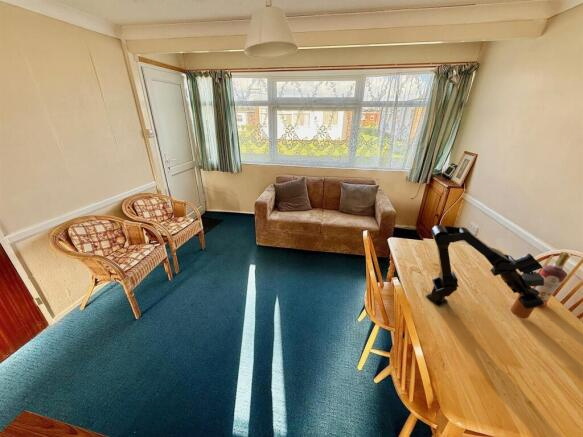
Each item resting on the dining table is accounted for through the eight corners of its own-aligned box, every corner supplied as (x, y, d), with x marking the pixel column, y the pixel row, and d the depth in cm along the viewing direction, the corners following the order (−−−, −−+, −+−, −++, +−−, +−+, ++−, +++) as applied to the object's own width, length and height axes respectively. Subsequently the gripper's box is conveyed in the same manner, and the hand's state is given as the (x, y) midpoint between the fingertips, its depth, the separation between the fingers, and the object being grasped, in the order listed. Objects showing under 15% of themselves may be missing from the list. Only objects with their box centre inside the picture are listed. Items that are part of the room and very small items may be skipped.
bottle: (524, 320, 98) (538, 298, 92) (507, 310, 103) (520, 288, 97) (531, 315, 100) (545, 294, 95) (514, 305, 105) (527, 284, 99)
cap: (534, 299, 94) (536, 295, 93) (522, 293, 98) (525, 289, 97) (538, 296, 96) (541, 292, 95) (527, 290, 99) (529, 286, 98)
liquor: (545, 302, 109) (577, 253, 96) (546, 311, 104) (580, 261, 92) (525, 294, 113) (552, 246, 101) (524, 302, 108) (554, 253, 96)
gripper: (550, 283, 84) (571, 312, 86) (520, 255, 100) (539, 280, 102) (515, 295, 89) (535, 321, 91) (492, 266, 105) (510, 289, 108)
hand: (530, 301), depth 98 cm, fingers closed on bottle, 6 cm apart
